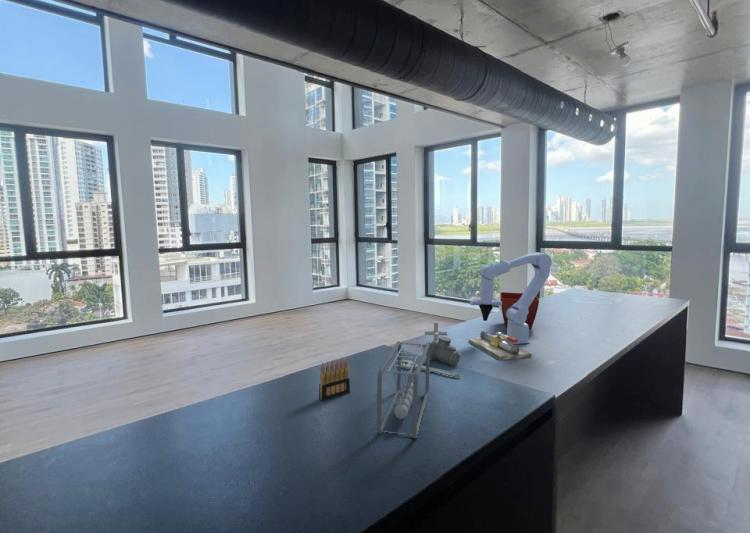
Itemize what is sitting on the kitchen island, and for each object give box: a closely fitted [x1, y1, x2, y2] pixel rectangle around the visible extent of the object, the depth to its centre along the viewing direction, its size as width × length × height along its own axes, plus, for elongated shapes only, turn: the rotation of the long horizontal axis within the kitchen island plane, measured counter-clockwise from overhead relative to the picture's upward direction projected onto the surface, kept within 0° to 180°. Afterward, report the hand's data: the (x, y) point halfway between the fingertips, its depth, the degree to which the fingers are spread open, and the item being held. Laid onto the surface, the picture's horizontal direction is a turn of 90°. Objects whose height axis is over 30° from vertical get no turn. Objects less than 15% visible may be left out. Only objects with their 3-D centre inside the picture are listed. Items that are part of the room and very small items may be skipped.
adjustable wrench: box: [401, 359, 462, 378], centre depth 152 cm, size 25×6×2 cm, turn 53°
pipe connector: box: [424, 321, 448, 341], centre depth 187 cm, size 10×10×10 cm
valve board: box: [468, 337, 532, 361], centre depth 180 cm, size 15×26×2 cm, turn 16°
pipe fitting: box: [429, 335, 461, 367], centre depth 162 cm, size 12×8×10 cm
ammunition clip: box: [318, 356, 351, 402], centre depth 130 cm, size 11×2×12 cm, turn 128°
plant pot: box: [499, 291, 540, 330], centre depth 220 cm, size 19×19×17 cm
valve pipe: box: [479, 330, 520, 355], centre depth 180 cm, size 4×25×6 cm, turn 16°
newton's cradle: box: [376, 340, 431, 439], centre depth 118 cm, size 30×10×18 cm, turn 166°
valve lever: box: [495, 331, 518, 343], centre depth 175 cm, size 13×2×1 cm, turn 18°
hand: (484, 320), depth 190 cm, fingers closed
